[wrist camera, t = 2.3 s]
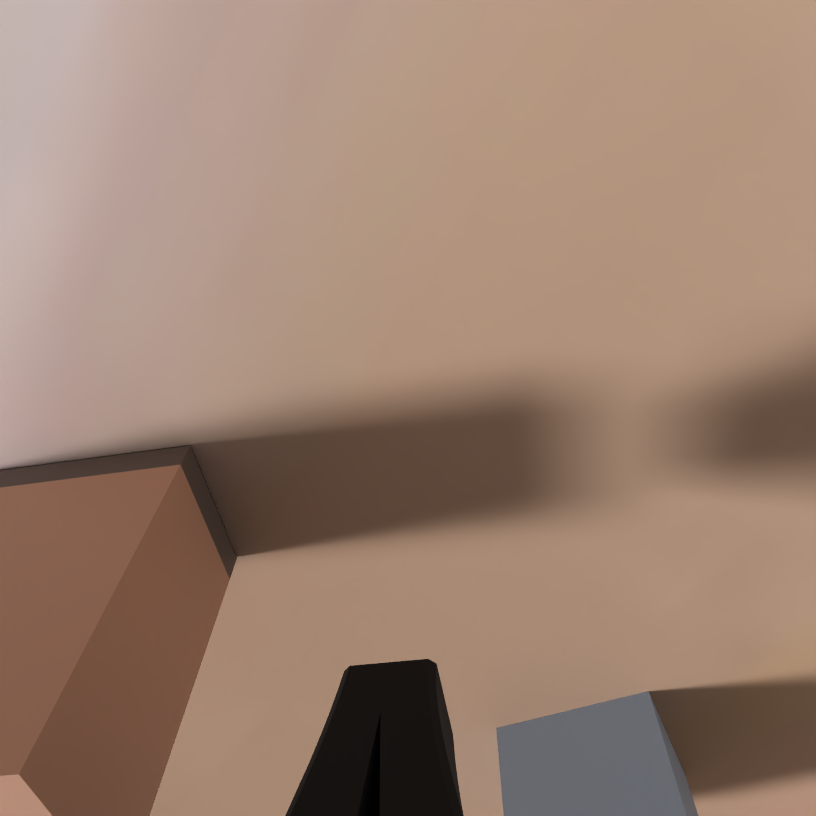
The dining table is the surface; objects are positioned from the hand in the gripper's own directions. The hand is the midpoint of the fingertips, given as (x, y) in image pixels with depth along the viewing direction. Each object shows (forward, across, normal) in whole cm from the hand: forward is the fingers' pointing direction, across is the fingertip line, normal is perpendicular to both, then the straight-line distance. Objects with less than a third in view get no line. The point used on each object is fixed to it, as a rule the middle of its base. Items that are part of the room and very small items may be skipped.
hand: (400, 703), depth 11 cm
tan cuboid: (+6, +7, 0) cm, 9 cm away
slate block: (+6, -4, +11) cm, 13 cm away
